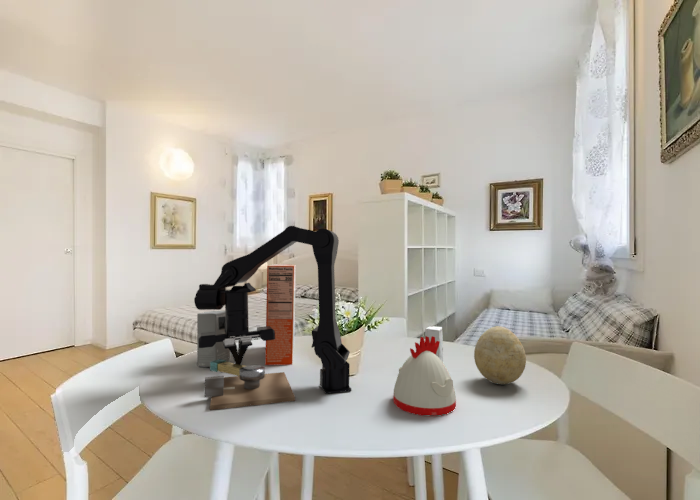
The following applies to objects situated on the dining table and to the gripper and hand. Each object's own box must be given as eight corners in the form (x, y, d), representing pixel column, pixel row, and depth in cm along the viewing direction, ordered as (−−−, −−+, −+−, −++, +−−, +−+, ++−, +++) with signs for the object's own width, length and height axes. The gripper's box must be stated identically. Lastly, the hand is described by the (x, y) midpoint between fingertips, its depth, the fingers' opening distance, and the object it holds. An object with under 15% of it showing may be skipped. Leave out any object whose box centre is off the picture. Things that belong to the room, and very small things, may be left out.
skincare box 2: (440, 372, 104) (440, 330, 104) (424, 370, 106) (425, 328, 106) (443, 366, 109) (443, 326, 110) (428, 364, 111) (429, 325, 112)
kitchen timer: (469, 408, 79) (469, 340, 79) (421, 421, 72) (421, 346, 73) (426, 388, 91) (426, 328, 91) (381, 397, 84) (382, 333, 85)
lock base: (283, 374, 100) (283, 356, 100) (294, 400, 82) (295, 378, 82) (208, 380, 94) (208, 361, 94) (202, 411, 75) (203, 387, 76)
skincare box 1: (216, 368, 104) (217, 314, 104) (194, 366, 105) (195, 312, 106) (231, 360, 112) (232, 310, 113) (210, 359, 114) (212, 309, 114)
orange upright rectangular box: (271, 346, 131) (273, 264, 132) (294, 346, 132) (295, 264, 133) (265, 365, 108) (267, 265, 109) (292, 364, 109) (294, 266, 110)
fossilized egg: (477, 372, 104) (477, 320, 104) (525, 379, 98) (526, 324, 99) (470, 386, 93) (471, 328, 93) (525, 395, 87) (526, 333, 87)
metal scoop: (269, 376, 89) (270, 367, 89) (252, 383, 83) (252, 373, 83) (224, 365, 96) (224, 357, 96) (205, 372, 91) (205, 363, 91)
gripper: (267, 303, 105) (268, 357, 105) (198, 308, 98) (199, 366, 97) (274, 308, 95) (276, 367, 94) (198, 314, 87) (199, 378, 87)
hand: (238, 369), depth 94 cm, fingers closed
